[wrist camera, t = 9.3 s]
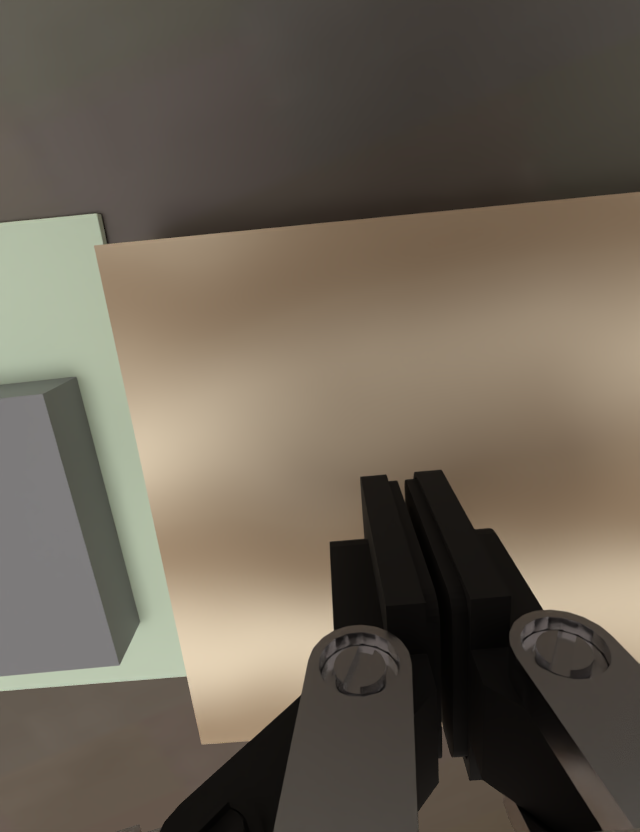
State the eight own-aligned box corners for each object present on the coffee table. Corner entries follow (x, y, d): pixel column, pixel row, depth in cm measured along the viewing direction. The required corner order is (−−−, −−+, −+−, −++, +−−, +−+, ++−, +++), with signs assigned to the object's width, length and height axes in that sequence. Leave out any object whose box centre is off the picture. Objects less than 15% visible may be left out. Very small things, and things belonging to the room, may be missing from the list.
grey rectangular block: (42, 394, 14) (76, 376, 15) (-177, 417, 14) (-117, 397, 16) (119, 665, 16) (140, 622, 18) (-65, 682, 16) (-25, 637, 18)
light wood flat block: (151, 247, 15) (93, 245, 11) (792, 184, 14) (966, 159, 10) (224, 644, 19) (201, 744, 15) (719, 605, 18) (823, 697, 15)
